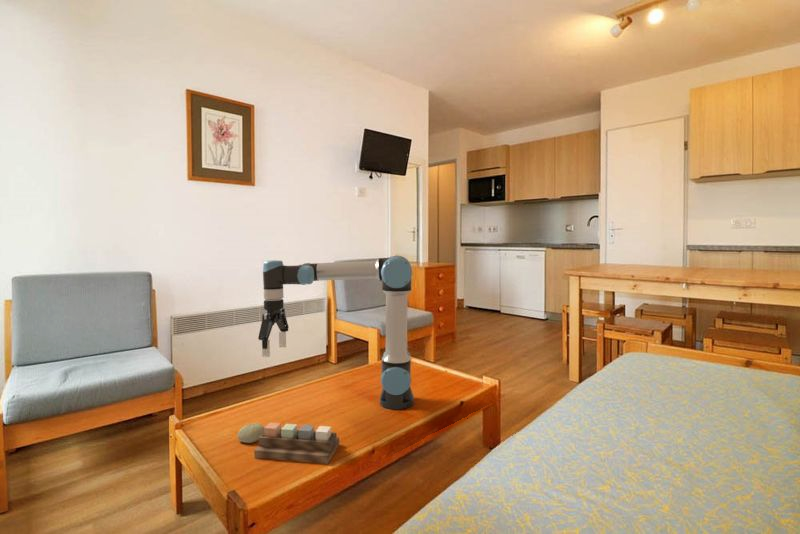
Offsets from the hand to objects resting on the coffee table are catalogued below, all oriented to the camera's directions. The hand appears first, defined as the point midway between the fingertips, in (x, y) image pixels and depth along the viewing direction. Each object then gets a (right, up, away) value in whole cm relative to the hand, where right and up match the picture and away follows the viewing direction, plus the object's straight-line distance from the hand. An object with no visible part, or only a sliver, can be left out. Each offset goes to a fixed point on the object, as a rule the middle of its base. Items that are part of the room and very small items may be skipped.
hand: (274, 351), depth 158 cm
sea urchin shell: (-3, -28, -16) cm, 32 cm away
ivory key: (+25, -24, -27) cm, 43 cm away
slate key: (+19, -24, -26) cm, 40 cm away
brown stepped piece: (+16, -28, -25) cm, 41 cm away
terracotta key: (+7, -23, -24) cm, 34 cm away
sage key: (+13, -23, -25) cm, 37 cm away
